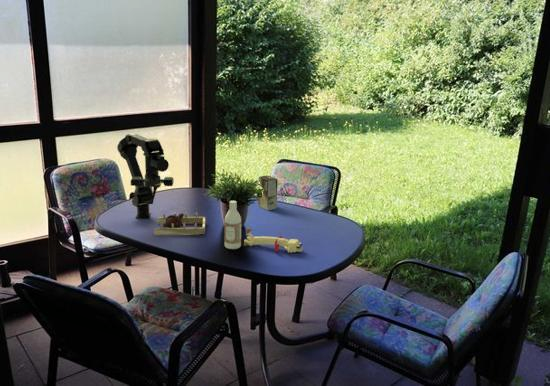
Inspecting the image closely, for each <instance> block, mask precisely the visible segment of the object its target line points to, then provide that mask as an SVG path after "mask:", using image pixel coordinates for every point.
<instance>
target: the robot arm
mask: <svg viewBox="0 0 550 386" xmlns="http://www.w3.org/2000/svg"><path fill="white" fill-rule="evenodd" d="M138 147H140V148H141V151H142V152H143V154H142V155H143V156H144V162H145V166H144V167H145V174H144V176H143V173H142V171H141V170H142V169H141V168H140V165H139V162H138V160H137V159H138V158H137V152H138V150H137V149H138ZM117 151H118V153H119V155H120V157H121V158H122V159H124V160H125V162H126V164H127V166H128V169H129V174H130V176H131V179H130V186H133V187H135V188H134V191H133V198H132V200H131V203H132V206H134V207H136V216H135V219H150V218H151V215H152V213H151V212H150V205H153V204H154V200H155V196H156V193H157V190H158V189H159V188H161V186H162V184H163V185H164V187H172V186H174V180H175V179H174V177H172V176H165V177H164V178H161V175H159V172H166V171H167V170H168V169H169V165H170V164H169V161H168V160H167V159H165V153H164V151H165V150H164V149H163V146H162V145H161V142H160V140H159V139H158V138H147V137H144V136H142V135H140V134H138V133H134V132H133V133H127V134H126V135H125V137H123V138H122V139H121V140H120V141H119V142H118V144H117Z"/></svg>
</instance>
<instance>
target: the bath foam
mask: <svg viewBox="0 0 550 386" xmlns="http://www.w3.org/2000/svg"><path fill="white" fill-rule="evenodd" d="M237 203H238V202H237V201H236V200H230V201H229V209H228V211H227V213H226V215H225V217H224V247H225V248H226V249H229V250H237V249H239V248H241V246H242V216H241V215H240V213H239V211H238V210H237V208H238V206H237V205H238V204H237Z"/></svg>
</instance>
